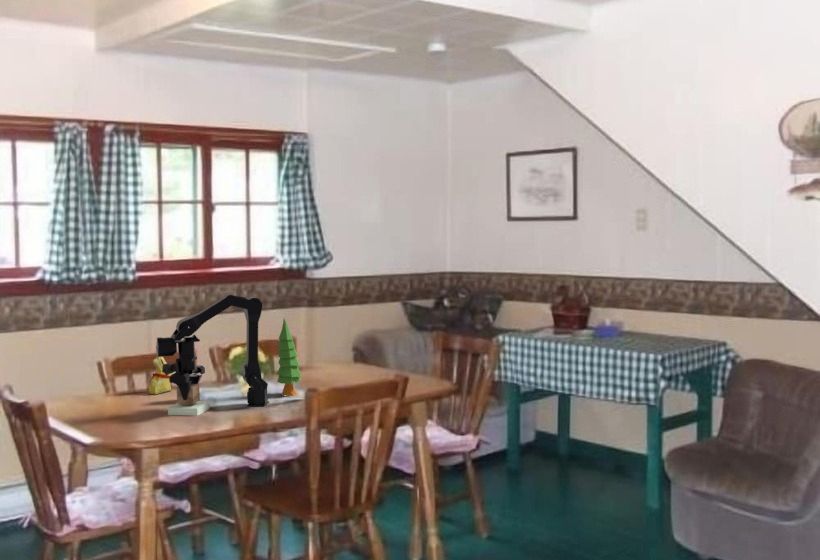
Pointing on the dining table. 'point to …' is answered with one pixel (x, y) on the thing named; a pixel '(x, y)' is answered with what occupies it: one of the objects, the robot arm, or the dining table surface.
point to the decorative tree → (287, 362)
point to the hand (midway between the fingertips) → (188, 397)
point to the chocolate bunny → (159, 378)
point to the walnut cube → (189, 395)
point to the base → (188, 408)
